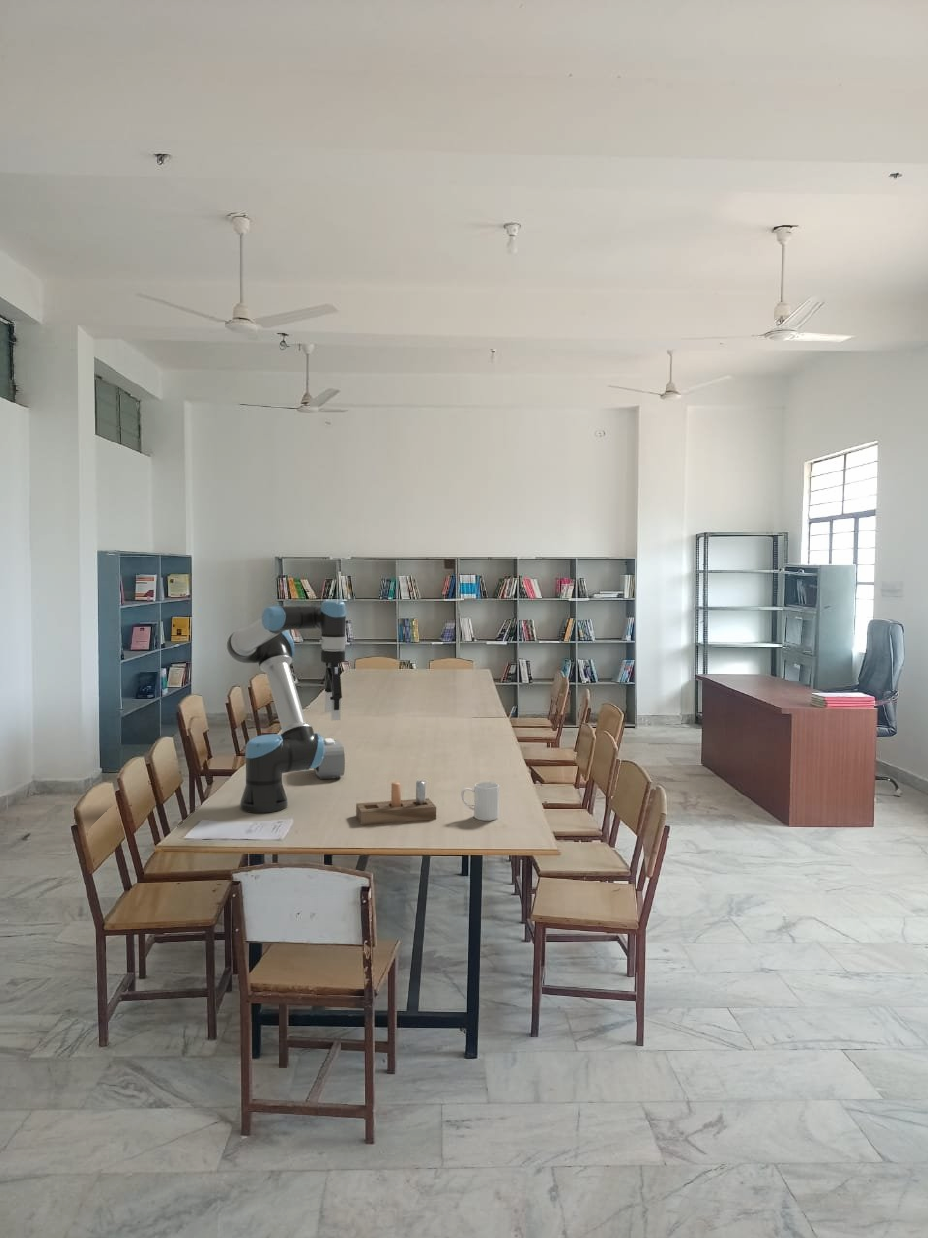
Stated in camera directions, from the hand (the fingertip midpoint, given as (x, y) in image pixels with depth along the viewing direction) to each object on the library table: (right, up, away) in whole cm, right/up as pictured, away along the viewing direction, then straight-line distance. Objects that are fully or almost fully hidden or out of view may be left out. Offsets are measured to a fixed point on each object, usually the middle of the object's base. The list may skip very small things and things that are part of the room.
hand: (332, 716), depth 262 cm
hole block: (+20, -33, +2) cm, 38 cm away
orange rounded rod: (+20, -33, +2) cm, 38 cm away
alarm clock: (-11, -29, +55) cm, 63 cm away
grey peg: (+28, -33, +4) cm, 43 cm away
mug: (+47, -33, +3) cm, 58 cm away
